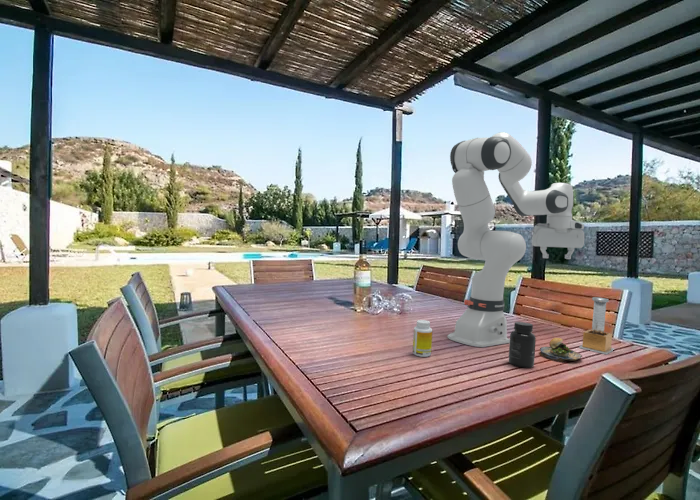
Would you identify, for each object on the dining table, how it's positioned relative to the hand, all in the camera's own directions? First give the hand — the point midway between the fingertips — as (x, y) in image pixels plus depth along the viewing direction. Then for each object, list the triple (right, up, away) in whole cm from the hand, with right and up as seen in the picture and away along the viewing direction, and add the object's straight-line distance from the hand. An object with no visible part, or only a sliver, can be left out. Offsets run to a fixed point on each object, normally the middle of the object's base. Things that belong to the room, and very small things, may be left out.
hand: (556, 258), depth 150 cm
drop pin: (+1, -30, -23) cm, 37 cm away
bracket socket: (+1, -30, -23) cm, 38 cm away
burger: (-17, -31, -33) cm, 48 cm away
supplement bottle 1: (-61, -29, -36) cm, 76 cm away
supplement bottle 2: (-33, -30, -41) cm, 61 cm away
